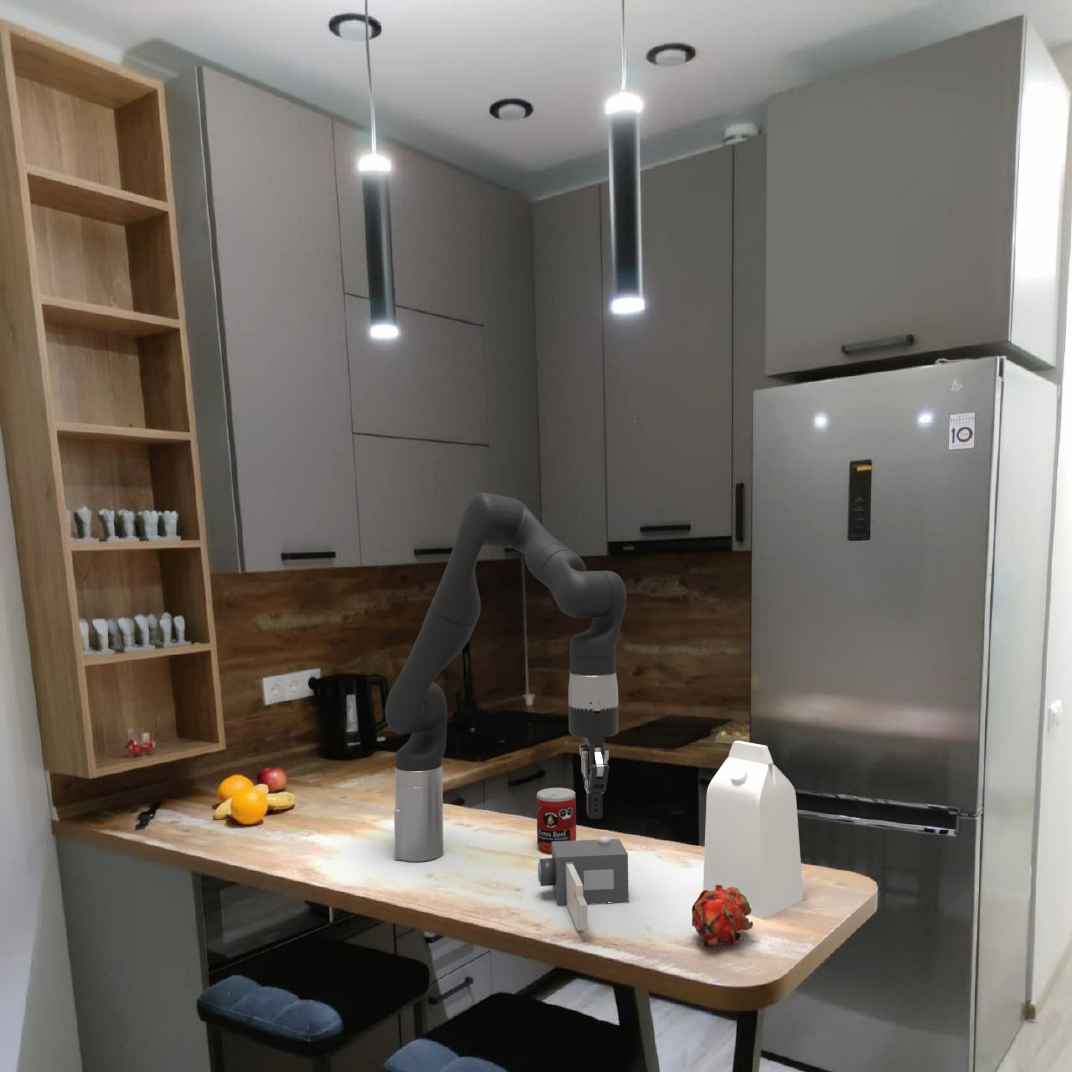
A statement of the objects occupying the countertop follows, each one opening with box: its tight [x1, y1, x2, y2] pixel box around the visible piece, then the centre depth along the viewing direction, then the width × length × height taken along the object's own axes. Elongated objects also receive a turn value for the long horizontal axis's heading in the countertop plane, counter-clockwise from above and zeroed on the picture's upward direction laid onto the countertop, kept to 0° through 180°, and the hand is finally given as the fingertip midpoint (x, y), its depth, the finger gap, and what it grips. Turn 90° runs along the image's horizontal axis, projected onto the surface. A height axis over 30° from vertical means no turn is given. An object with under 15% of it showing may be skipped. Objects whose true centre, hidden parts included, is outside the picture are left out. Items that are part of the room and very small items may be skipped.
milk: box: [702, 740, 804, 920], centre depth 147 cm, size 12×12×26 cm
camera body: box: [537, 835, 630, 907], centre depth 149 cm, size 15×8×9 cm, turn 95°
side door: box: [565, 862, 589, 931], centre depth 138 cm, size 14×1×7 cm, turn 8°
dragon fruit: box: [691, 885, 754, 948], centre depth 131 cm, size 8×8×12 cm
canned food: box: [536, 787, 577, 855], centre depth 173 cm, size 8×8×11 cm
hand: (594, 817), depth 132 cm, fingers closed
